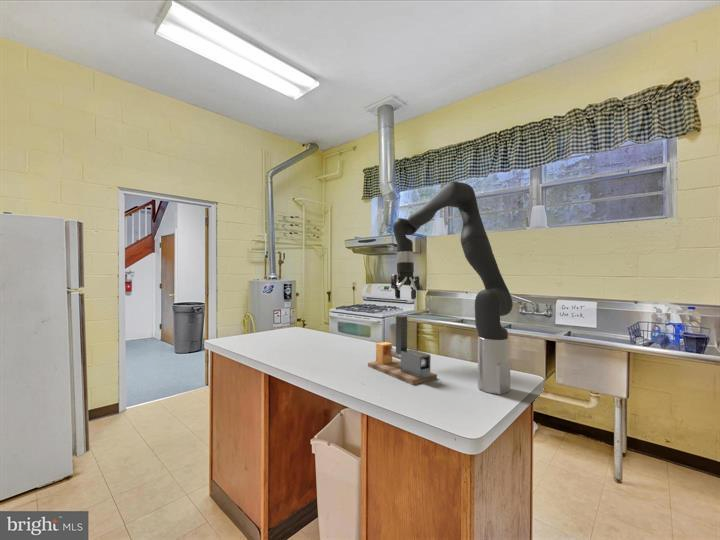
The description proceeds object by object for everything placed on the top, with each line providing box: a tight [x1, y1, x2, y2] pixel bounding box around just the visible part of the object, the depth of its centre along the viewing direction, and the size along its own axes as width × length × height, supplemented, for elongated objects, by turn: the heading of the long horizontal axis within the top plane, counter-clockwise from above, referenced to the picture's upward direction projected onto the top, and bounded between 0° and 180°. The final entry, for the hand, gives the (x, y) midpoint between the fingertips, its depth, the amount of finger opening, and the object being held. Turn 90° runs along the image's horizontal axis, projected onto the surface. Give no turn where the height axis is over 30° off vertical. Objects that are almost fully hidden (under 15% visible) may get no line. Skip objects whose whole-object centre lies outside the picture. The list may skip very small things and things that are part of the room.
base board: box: [367, 358, 438, 386], centre depth 124 cm, size 26×12×2 cm, turn 35°
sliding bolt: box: [389, 315, 427, 367], centre depth 121 cm, size 18×3×16 cm, turn 35°
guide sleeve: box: [400, 348, 431, 379], centre depth 118 cm, size 10×5×8 cm, turn 35°
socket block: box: [375, 341, 393, 364], centre depth 133 cm, size 4×5×8 cm
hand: (405, 298), depth 143 cm, fingers open, 8 cm apart
